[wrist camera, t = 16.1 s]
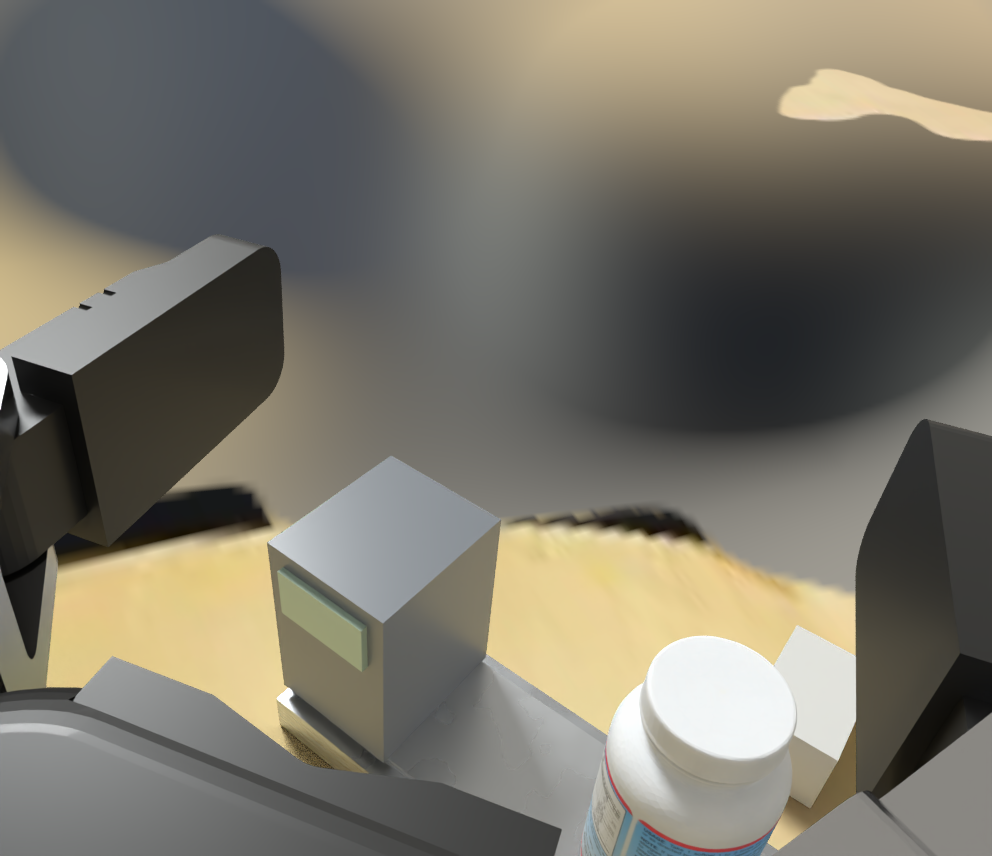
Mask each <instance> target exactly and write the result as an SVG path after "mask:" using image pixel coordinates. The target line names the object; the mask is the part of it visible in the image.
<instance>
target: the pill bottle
mask: <svg viewBox="0 0 992 856" xmlns="http://www.w3.org/2000/svg"><path fill="white" fill-rule="evenodd" d="M796 724H797V709H796V703H795V699H794V696H793V694H792V691H791V689H790V687H789V685H788V684H787V682H786V680H785V679H784V677H783V676H782V675H781V674H780V672H779V671H778V670H777V669H776V668H775V667H774V666H773V665H772V664H771V663H770V662H769V661H768V660H766V659H765V658H764V657H763V656H761V655H760V654H758V653H757V652H755V651H753V650H752V649H750V648H748V647H746V646H744V645H742V644H740V643H737V642H734V641H731V640H728V639H724V638H719V637H713V636H693V637H688V638H684V639H680V640H678V641H675V642H673V643H671V644H670V645H668V646H666V647H665V648H664V649H663V650H661V651H660V652H659V653H658V655H657V656H656V657H655V658H654V660H653V661H652V663H651V665H650V667H649V670H648V672H647V676H646V679H645V681H644V683H642V684H641V685H639V686H638V687H636V688H635V689H634V690H633V691H631V692H630V693H629V694H628V695H627V696H626V698H625V699H624V700H623V701H622V703H621V704H620V706H619V707H618V709H617V711H616V713H615V715H614V717H613V720H612V723H611V726H610V728H609V732H608V736H607V740H606V744H605V747H604V752H603V756H602V760H601V764H600V767H599V771H598V775H597V779H596V783H595V787H594V791H593V795H592V799H591V803H590V807H589V811H588V815H587V818H586V822H585V826H584V830H583V834H582V840H581V848H580V856H760V855H761V853H762V851H763V849H764V847H765V846H766V844H767V842H768V840H769V838H770V836H771V834H772V832H773V830H774V828H775V826H776V824H777V823H778V821H779V819H780V817H781V815H782V813H783V811H784V808H785V806H786V803H787V801H788V798H789V795H790V791H791V785H792V764H791V757H790V753H789V749H788V747H789V744H790V742H791V740H792V737H793V735H794V732H795V729H796Z"/></svg>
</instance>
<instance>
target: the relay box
mask: <svg viewBox="0 0 992 856" xmlns="http://www.w3.org/2000/svg"><path fill="white" fill-rule="evenodd" d="M774 667H775V668H776V669H777V670H778V671H779V672H780V674H781V675H782V676H783V677H784V679H785V680H786V682H787V684H788V685H789V687H790V689H791V691H792V694H793V696H794V699H795V703H796V709H797V724H796V729H795V732H794V735H793V737H792V740H791V742H790V744H789V747H788V749H789V753H790V757H791V764H792V785H791V791H790V795H789V796H791V797H792V798H794V799H795V800H797V801H799V802H800V803H802V804H804V805H805V806H807V807H808V808H810V809H811V807H812V805H813V803H814V802H815V800H816V798H817V797H818V795H819V793H820V791H821V790H822V788H823V786H824V784H825V783H826V781H827V779H828V777H829V776H830V774H831V772H832V771H833V769H834V767H835V765H836V764H837V762H838V760H839V758H840V755H841V753H842V751H843V749H844V746H845V744H846V742H847V740H848V737H849V735H850V733H851V731H852V728H853V726H854V724H855V722H856V656H855V655H853V654H851V653H849V652H847V651H845V650H843V649H842V648H840V647H838V646H836V645H834V644H832V643H830V642H828V641H826V640H825V639H823V638H821V637H819V636H817V635H815V634H813V633H811V632H809V631H807V630H806V629H804V628H802V627H800V626H798V625H797V626H796V628H795V630H794V631H793V633H792V635H791V637H790V638H789V640H788V642H787V644H786V645H785V647H784V649H783V651H782V652H781V654H780V656H779V658H778V659H777V661H776V663H775V665H774Z"/></svg>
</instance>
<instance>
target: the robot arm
mask: <svg viewBox="0 0 992 856" xmlns="http://www.w3.org/2000/svg"><path fill="white" fill-rule="evenodd" d="M283 361H284V336H283V311H282V286H281V268H280V262H279V259H278V256H277V254H276V253H275V251H274V250H273V249H271V248H269V247H266V246H262V245H258V244H254V243H250V242H247V241H242V240H239V239H235V238H231V237H227V236H223V235H213V236H210V237H208V238H207V239H205V240H204V241H202V242H200V243H199V244H197V245H195V246H194V247H192V248H190V249H189V250H187V251H185V252H184V253H182V254H180V255H179V256H177V257H175V258H174V259H172V260H170V261H169V262H166V263H162V264H159V265H156V266H152V267H148V268H146V269H142V270H138V271H135V272H133V273H131V274H129V275H127V276H126V277H124V278H123V279H120V280H119V281H117V282H116V283H114V284H112V285H110V286H109V287H107V288H105V289H104V293H103V294H101V293H97V294H95V295H93V296H92V297H90V298H88V299H87V300H85V301H83V302H81V303H80V306H79V308H75V307H73V308H71V309H69V310H68V311H66V312H64V313H63V314H61V315H59V316H57V317H56V318H54V319H53V320H51V321H49V322H47V323H45V324H44V325H42V326H40V327H39V328H37V329H35V330H34V331H32V332H30V333H28V334H27V335H25V336H24V337H22V338H20V339H18V340H17V341H15V342H13V343H12V344H10V345H8V346H6V347H5V348H3V349H1V350H0V856H555V853H556V849H557V846H558V842H559V838H560V835H561V831H562V829H560V828H558V827H555V826H552V825H550V824H547V823H545V822H542V821H539V820H537V819H534V818H532V817H529V816H526V815H524V814H521V813H519V812H516V811H513V810H511V809H508V808H506V807H503V806H500V805H498V804H495V803H493V802H490V801H487V800H485V799H482V798H480V797H477V796H474V795H472V794H469V793H467V792H464V791H461V790H459V789H456V788H454V787H451V786H448V785H446V784H443V783H439V782H431V781H423V780H415V779H407V778H399V777H391V776H383V775H375V774H367V773H359V772H351V771H344V770H336V769H328V768H320V767H316V766H311V765H309V764H306V763H304V762H302V761H301V760H299V759H297V758H296V757H295V756H293V755H292V754H291V753H289V752H288V751H287V750H285V749H284V748H283V747H281V746H280V745H279V744H277V743H276V742H275V741H273V740H272V739H271V738H269V737H268V736H267V735H265V734H264V733H263V732H261V731H260V730H259V729H257V728H256V727H255V726H253V725H252V724H251V723H249V722H248V721H247V720H246V719H244V718H243V717H242V716H240V715H239V714H238V713H236V712H235V711H234V710H232V709H231V708H230V707H228V706H227V705H226V704H224V703H223V702H222V701H220V700H219V699H218V698H216V697H215V696H214V695H212V694H209V693H207V692H204V691H201V690H199V689H196V688H194V687H191V686H188V685H186V684H183V683H181V682H178V681H175V680H173V679H170V678H168V677H165V676H162V675H160V674H157V673H155V672H152V671H149V670H147V669H144V668H142V667H139V666H136V665H134V664H131V663H129V662H126V661H123V660H121V659H118V658H116V657H113V656H112V657H111V658H110V659H109V660H108V661H107V662H106V664H105V665H104V666H103V667H102V668H101V669H100V670H99V671H98V672H97V673H96V674H95V675H94V677H93V678H92V679H91V680H90V681H89V682H88V683H87V684H86V685H85V686H84V687H83V688H58V687H47V688H46V681H47V670H48V660H49V650H50V639H51V629H52V619H53V609H54V599H55V589H56V578H57V568H58V561H57V556H56V552H55V548H54V545H53V544H54V543H55V542H57V541H58V540H59V539H60V538H61V537H62V536H63V535H65V534H66V533H70V534H73V535H76V536H78V537H81V538H84V539H87V540H90V541H93V542H95V543H98V544H101V545H104V546H107V547H109V546H110V545H111V544H112V543H113V542H114V541H115V540H116V539H117V538H118V537H119V536H121V535H122V534H123V533H124V532H125V531H126V530H127V529H128V528H129V527H130V526H131V525H132V524H133V523H134V522H135V521H137V520H138V519H139V518H140V517H141V516H142V515H143V514H144V513H145V512H146V511H147V510H148V509H149V508H150V507H152V506H153V505H154V504H155V503H156V502H157V501H158V500H159V499H160V498H161V497H162V496H163V495H164V494H165V493H166V492H168V491H169V490H170V489H171V488H172V487H173V486H174V485H175V484H176V483H177V482H178V481H179V480H180V479H181V478H182V477H184V475H186V474H187V473H188V472H189V471H190V470H191V469H192V468H193V467H194V466H195V465H196V464H197V463H199V462H200V461H201V460H202V459H203V458H204V457H205V456H206V455H207V454H208V453H209V452H210V451H211V450H212V449H213V448H215V447H216V446H217V445H218V444H219V443H220V442H221V441H222V440H223V439H224V438H225V437H226V436H227V435H228V434H229V433H230V432H232V431H233V430H234V429H235V428H236V427H237V426H238V425H239V424H240V423H241V422H242V421H243V420H244V419H246V418H247V417H248V416H249V415H250V414H251V413H252V412H253V411H254V410H255V409H256V408H257V407H258V406H259V405H260V404H261V403H263V402H264V401H265V400H266V399H267V398H268V396H270V394H271V393H272V392H273V390H274V388H275V387H276V385H277V383H278V380H279V378H280V375H281V371H282V368H283ZM772 856H992V436H989V435H985V434H982V433H978V432H973V431H970V430H966V429H962V428H958V427H954V426H951V425H947V424H943V423H939V422H935V421H931V420H928V419H924V420H922V421H920V422H919V424H918V425H917V426H916V427H915V429H914V431H913V432H912V434H911V436H910V438H909V440H908V442H907V444H906V446H905V448H904V450H903V452H902V454H901V456H900V458H899V461H898V463H897V465H896V467H895V469H894V471H893V473H892V475H891V477H890V479H889V481H888V484H887V486H886V488H885V490H884V492H883V494H882V496H881V498H880V500H879V502H878V504H877V506H876V509H875V511H874V513H873V515H872V517H871V519H870V521H869V523H868V526H867V528H866V531H865V533H864V536H863V539H862V543H861V546H860V550H859V554H858V560H857V566H856V794H855V795H854V796H852V797H850V798H849V799H847V800H846V801H844V802H843V803H841V804H840V805H839V806H837V807H836V808H835V809H833V810H832V811H831V812H829V813H828V814H827V815H825V816H824V817H823V818H821V819H820V820H819V821H817V822H816V823H815V824H813V825H812V826H811V827H809V828H808V829H807V830H805V831H804V832H803V833H801V834H800V835H799V836H797V837H796V838H795V839H793V840H792V841H791V842H789V843H788V844H787V845H785V846H784V847H783V848H781V849H780V850H779V851H777V852H776V853H775V854H773V855H772Z"/></svg>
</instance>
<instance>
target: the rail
mask: <svg viewBox="0 0 992 856" xmlns="http://www.w3.org/2000/svg"><path fill="white" fill-rule="evenodd" d="M277 705H278V713H279V720H280V725H282V726H283V727H284V728H285V729H286V730H288V731H289V732H290V733H291V734H292V735H294V736H295V737H296V738H297V739H299V740H300V741H301V742H302V743H303V744H305V745H306V746H307V747H308V748H309V749H311V750H312V751H313V752H314V753H315V754H317V755H318V756H319V757H320V758H322V759H323V760H324V761H325V762H326V763H328V764H329V765H330V766H331V767H332V768H334V769H336V770H344V771H351V772H359V773H367V774H375V775H383V776H391V777H399V778H407V779H415V780H423V781H431V782H439V783H443V784H446V785H448V786H451V787H454V788H456V789H459V790H461V791H464V792H467V793H469V794H472V795H474V796H477V797H480V798H482V799H485V800H487V801H490V802H493V803H495V804H498V805H500V806H503V807H506V808H508V809H511V810H513V811H516V812H519V813H521V814H524V815H526V816H529V817H532V818H534V819H537V820H539V821H542V822H545V823H547V824H550V825H552V826H555V827H558V828H560V829H562V831H561V835H560V838H559V842H558V846H557V849H556V853H555V856H580V848H581V840H582V834H583V830H584V826H585V822H586V818H587V815H588V811H589V807H590V803H591V799H592V795H593V791H594V787H595V783H596V779H597V775H598V771H599V767H600V764H601V760H602V756H603V752H604V747H605V744H606V740H607V735H606V734H604V733H603V732H601V731H600V730H598V729H597V728H595V727H594V726H592V725H591V724H589V723H588V722H586V721H585V720H583V719H582V718H580V717H579V716H578V715H576V714H575V713H573V712H572V711H570V710H569V709H567V708H566V707H564V706H563V705H561V704H560V703H558V702H557V701H555V700H554V699H552V698H551V697H549V696H548V695H546V694H545V693H543V692H542V691H540V690H539V689H537V688H536V687H534V686H533V685H531V684H530V683H528V682H527V681H525V680H524V679H522V678H521V677H520V676H518V675H517V674H515V673H514V672H512V671H511V670H509V669H508V668H506V667H505V666H503V665H502V664H500V663H499V662H497V661H496V660H494V659H493V658H491V657H490V656H488V655H487V654H486V658H485V659H484V660H483V661H482V662H481V663H480V664H479V665H478V666H477V667H476V668H475V669H474V670H473V671H472V672H471V673H470V674H469V675H468V676H467V677H466V678H465V679H464V680H463V681H462V683H461V684H460V685H459V686H458V687H457V688H456V689H455V690H454V691H453V692H452V693H451V694H450V695H449V696H448V697H447V698H446V699H445V700H444V701H443V702H442V703H441V704H440V705H439V706H438V707H437V708H436V709H435V711H434V712H433V713H432V714H431V715H430V716H429V717H428V718H427V719H426V720H425V721H424V722H423V723H422V724H421V725H420V726H419V727H418V728H417V729H416V730H415V731H414V732H413V733H412V734H411V735H410V736H409V737H408V738H407V740H406V741H405V742H404V743H403V744H402V745H401V746H400V747H399V748H398V749H397V750H396V751H395V752H394V753H393V754H392V755H391V756H390V757H389V758H388V759H387V760H386V761H385V762H384V763H383V762H381V761H380V760H379V759H378V758H376V757H375V756H374V755H373V754H371V753H370V752H369V751H368V750H366V749H365V748H364V747H363V746H361V745H360V744H359V743H357V742H356V741H355V740H354V739H352V738H351V737H350V736H349V735H347V734H346V733H345V732H344V731H342V730H341V729H340V728H339V727H337V726H336V725H335V724H334V723H332V722H331V721H330V720H329V719H327V718H326V717H325V716H323V715H322V714H321V713H320V712H318V711H317V710H316V709H315V708H313V707H312V706H311V705H310V704H308V703H307V702H306V701H305V700H303V699H302V698H301V697H300V696H298V695H297V694H296V693H294V692H293V691H292V690H291V689H289V688H288V689H287V690H286V691H285V692H284V693H282V694H281V695H280V696H279V697H278V698H277ZM777 851H778V850H777V849H775V848H774V847H772V846H771V845H769V844H768V843H767V844H766V846H765V847H764V849H763V851H762V853H761V855H760V856H772V855H773V854H775V853H776V852H777Z"/></svg>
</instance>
